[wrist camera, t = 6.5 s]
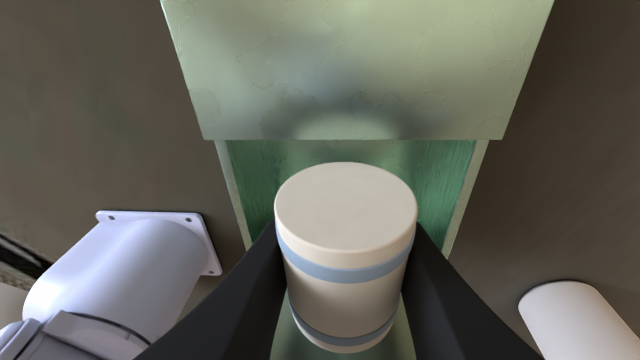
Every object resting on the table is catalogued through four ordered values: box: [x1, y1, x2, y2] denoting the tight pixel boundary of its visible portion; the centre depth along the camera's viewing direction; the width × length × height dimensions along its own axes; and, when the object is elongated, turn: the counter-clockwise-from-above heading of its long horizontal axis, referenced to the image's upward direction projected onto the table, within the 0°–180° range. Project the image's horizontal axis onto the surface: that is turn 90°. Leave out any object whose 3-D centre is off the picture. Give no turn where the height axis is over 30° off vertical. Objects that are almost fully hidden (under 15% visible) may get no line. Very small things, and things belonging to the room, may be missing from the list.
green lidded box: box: [160, 0, 555, 260], centre depth 13 cm, size 15×11×7 cm
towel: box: [274, 162, 418, 353], centre depth 10 cm, size 4×6×4 cm
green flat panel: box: [270, 289, 416, 360], centre depth 12 cm, size 7×11×1 cm
